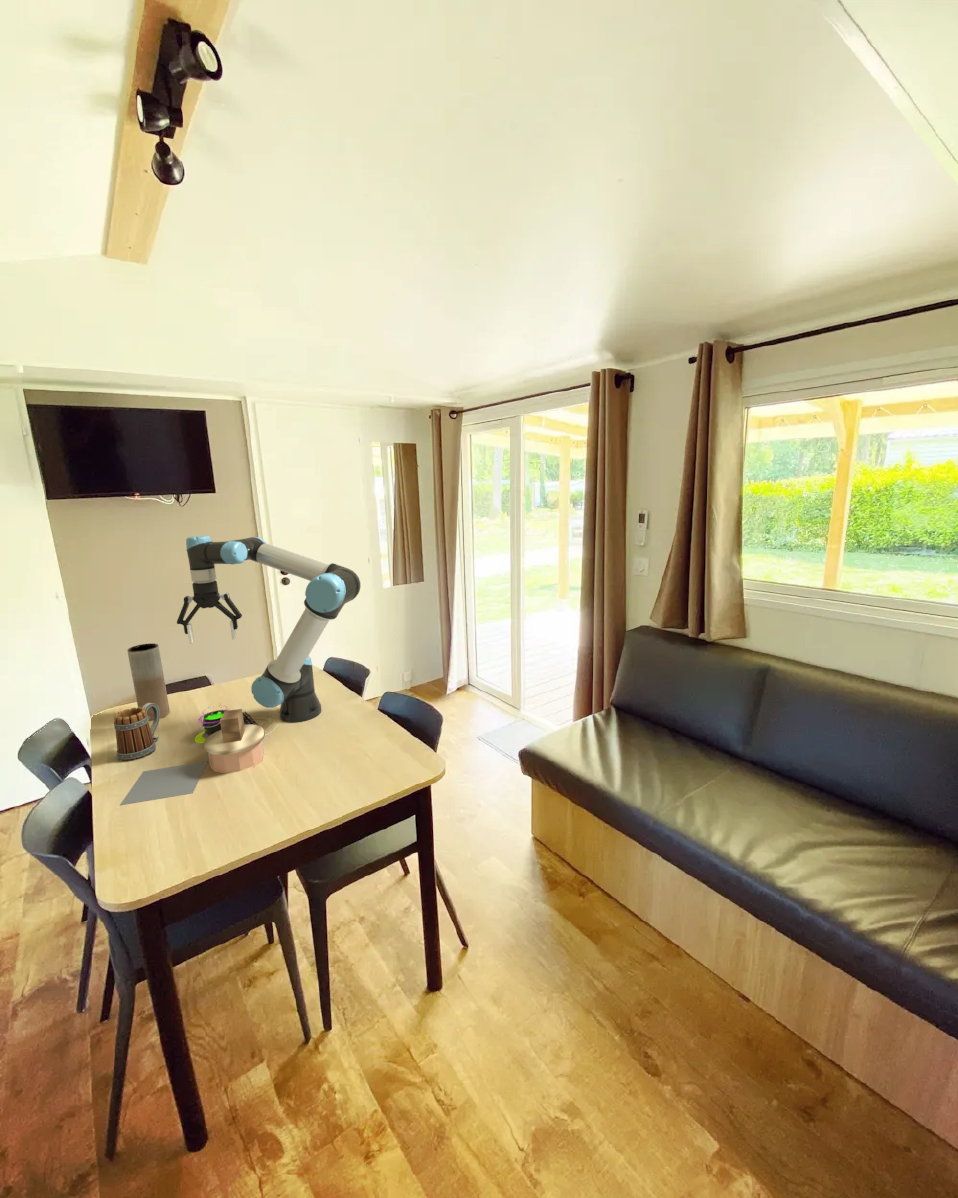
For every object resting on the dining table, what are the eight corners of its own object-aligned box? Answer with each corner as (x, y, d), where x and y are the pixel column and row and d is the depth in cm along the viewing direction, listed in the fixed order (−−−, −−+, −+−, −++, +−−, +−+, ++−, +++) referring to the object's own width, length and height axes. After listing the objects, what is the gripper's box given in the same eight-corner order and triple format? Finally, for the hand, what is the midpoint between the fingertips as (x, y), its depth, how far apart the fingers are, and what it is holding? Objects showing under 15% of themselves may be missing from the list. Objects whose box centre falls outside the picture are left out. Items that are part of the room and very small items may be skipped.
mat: (208, 763, 159) (208, 761, 159) (193, 795, 142) (192, 793, 142) (143, 773, 154) (143, 771, 154) (119, 807, 137) (119, 805, 137)
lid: (267, 725, 168) (264, 700, 166) (260, 749, 152) (256, 721, 150) (211, 733, 164) (207, 707, 162) (198, 759, 148) (193, 730, 146)
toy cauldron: (188, 736, 178) (183, 707, 175) (231, 721, 188) (227, 694, 186) (204, 749, 168) (199, 719, 165) (249, 733, 178) (245, 704, 176)
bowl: (266, 746, 168) (264, 727, 167) (260, 769, 154) (257, 748, 153) (217, 753, 164) (214, 734, 163) (206, 778, 150) (202, 756, 149)
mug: (137, 764, 160) (129, 720, 156) (109, 762, 162) (101, 718, 159) (175, 740, 174) (168, 700, 171) (149, 738, 177) (142, 698, 173)
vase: (175, 713, 197) (163, 645, 191) (147, 723, 189) (134, 652, 183) (162, 708, 202) (150, 641, 197) (135, 717, 194) (122, 648, 189)
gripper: (245, 576, 180) (252, 634, 184) (167, 582, 173) (176, 641, 178) (241, 580, 173) (249, 639, 177) (160, 585, 166) (170, 647, 171)
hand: (213, 640), depth 177 cm, fingers open, 13 cm apart
